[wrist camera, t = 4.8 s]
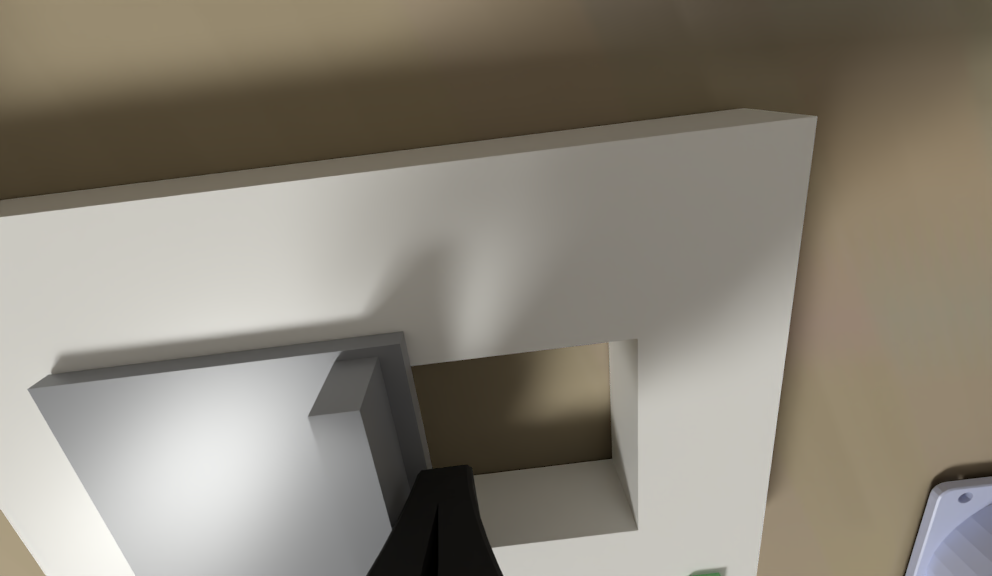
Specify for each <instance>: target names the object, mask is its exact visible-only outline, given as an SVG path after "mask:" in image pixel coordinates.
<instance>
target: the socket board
mask: <svg viewBox="0 0 992 576" xmlns="http://www.w3.org/2000/svg"><path fill="white" fill-rule="evenodd" d="M817 117H818V116H812V115H803V114H794V113H785V112H776V111H767V110H758V109H749V108H741V109H732V110H724V111H716V112H708V113H700V114H692V115H684V116H676V117H668V118H660V119H652V120H644V121H636V122H628V123H620V124H611V125H603V126H595V127H587V128H579V129H571V130H563V131H555V132H547V133H539V134H531V135H523V136H515V137H507V138H498V139H490V140H482V141H474V142H466V143H458V144H450V145H442V146H434V147H426V148H418V149H410V150H402V151H394V152H386V153H377V154H369V155H361V156H353V157H345V158H337V159H329V160H321V161H313V162H305V163H297V164H289V165H281V166H273V167H265V168H256V169H248V170H240V171H232V172H224V173H216V174H208V175H200V176H192V177H184V178H176V179H168V180H160V181H152V182H143V183H135V184H127V185H119V186H111V187H103V188H95V189H87V190H79V191H71V192H63V193H55V194H47V195H39V196H31V197H22V198H14V199H6V200H0V509H1V510H2V512H3V513H4V515H5V516H6V518H7V519H8V521H9V522H10V524H11V525H12V527H13V528H14V529H15V531H16V532H17V534H18V535H19V537H20V538H21V540H22V541H23V543H24V544H25V546H26V547H27V549H28V550H29V551H30V553H31V554H32V556H33V557H34V559H35V560H36V562H37V563H38V565H39V566H40V568H41V569H42V570H43V572H44V573H45V575H46V576H135V574H134V572H133V571H132V569H131V567H130V566H129V564H128V562H127V560H126V559H125V557H124V555H123V553H122V552H121V550H120V548H119V547H118V545H117V543H116V541H115V540H114V538H113V536H112V534H111V533H110V531H109V529H108V528H107V526H106V524H105V522H104V521H103V519H102V517H101V516H100V514H99V512H98V510H97V509H96V507H95V505H94V503H93V502H92V500H91V498H90V497H89V495H88V493H87V491H86V490H85V488H84V486H83V484H82V483H81V481H80V479H79V478H78V476H77V474H76V472H75V471H74V469H73V467H72V466H71V464H70V462H69V460H68V459H67V457H66V455H65V453H64V452H63V450H62V448H61V447H60V445H59V443H58V441H57V440H56V438H55V436H54V435H53V433H52V431H51V429H50V428H49V426H48V424H47V422H46V421H45V419H44V417H43V416H42V414H41V412H40V410H39V409H38V407H37V405H36V403H35V402H34V400H33V398H32V397H31V395H30V393H29V391H28V390H27V389H28V388H30V387H31V386H33V385H34V384H35V383H37V382H38V381H40V380H41V379H43V378H44V377H45V376H47V375H49V374H58V373H66V372H74V371H82V370H90V369H99V368H107V367H115V366H123V365H131V364H140V363H148V362H156V361H164V360H172V359H180V358H189V357H197V356H205V355H213V354H221V353H230V352H238V351H246V350H254V349H262V348H270V347H279V346H287V345H295V344H303V343H311V342H320V341H328V340H336V339H344V338H352V337H361V336H369V335H377V334H385V333H393V332H401V331H403V332H404V337H405V341H406V346H407V351H408V356H409V360H410V365H411V366H417V365H425V364H433V363H441V362H449V361H458V360H466V359H474V358H482V357H490V356H499V355H507V354H515V353H523V352H531V351H540V350H548V349H556V348H564V347H573V346H581V345H589V344H597V343H605V342H609V367H610V402H611V437H612V459H606V460H598V461H590V462H581V463H573V464H565V465H556V466H548V467H540V468H532V469H523V470H515V471H507V472H498V473H490V474H482V475H474V482H475V488H476V494H477V500H478V506H479V512H480V517H481V520H482V523H483V526H484V529H485V532H486V535H487V537H488V540H489V543H490V545H491V548H492V550H493V553H494V555H495V558H496V560H497V562H498V565H499V567H500V569H501V571H502V574H503V576H756V574H757V567H758V559H759V552H760V544H761V537H762V529H763V522H764V514H765V507H766V499H767V492H768V484H769V477H770V469H771V462H772V454H773V447H774V439H775V432H776V424H777V417H778V409H779V402H780V394H781V387H782V379H783V372H784V364H785V357H786V349H787V342H788V334H789V327H790V319H791V312H792V304H793V297H794V289H795V282H796V274H797V267H798V259H799V252H800V244H801V237H802V229H803V222H804V214H805V207H806V199H807V192H808V184H809V177H810V169H811V162H812V154H813V147H814V139H815V132H816V124H817Z"/></svg>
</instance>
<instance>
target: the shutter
mask: <svg viewBox="0 0 992 576" xmlns="http://www.w3.org/2000/svg"><path fill="white" fill-rule="evenodd" d="M27 390H28V391H29V393H30V395H31V397H32V398H33V400H34V402H35V403H36V405H37V407H38V409H39V410H40V412H41V414H42V416H43V417H44V419H45V421H46V422H47V424H48V426H49V428H50V429H51V431H52V433H53V435H54V436H55V438H56V440H57V441H58V443H59V445H60V447H61V448H62V450H63V452H64V453H65V455H66V457H67V459H68V460H69V462H70V464H71V466H72V467H73V469H74V471H75V472H76V474H77V476H78V478H79V479H80V481H81V483H82V484H83V486H84V488H85V490H86V491H87V493H88V495H89V497H90V498H91V500H92V502H93V503H94V505H95V507H96V509H97V510H98V512H99V514H100V516H101V517H102V519H103V521H104V522H105V524H106V526H107V528H108V529H109V531H110V533H111V534H112V536H113V538H114V540H115V541H116V543H117V545H118V547H119V548H120V550H121V552H122V553H123V555H124V557H125V559H126V560H127V562H128V564H129V566H130V567H131V569H132V571H133V572H134V574H135V576H366V575H367V573H368V572H369V570H370V568H371V567H372V565H373V563H374V562H375V560H376V558H377V557H378V555H379V553H380V551H381V550H382V548H383V546H384V544H385V542H386V540H387V539H388V537H389V535H390V533H391V531H392V529H393V527H394V525H395V523H396V521H397V519H398V517H399V515H400V513H401V511H402V509H403V507H404V505H405V503H406V501H407V498H408V496H409V494H410V492H411V489H412V487H413V485H414V482H415V480H416V477H417V475H418V473H419V472H420V471H421V470H427V469H433V468H432V464H431V459H430V454H429V450H428V445H427V440H426V435H425V431H424V426H423V421H422V417H421V412H420V407H419V403H418V398H417V393H416V388H415V384H414V379H413V374H412V370H411V365H410V360H409V356H408V351H407V346H406V341H405V337H404V332H403V331H401V332H393V333H385V334H377V335H369V336H361V337H352V338H344V339H336V340H328V341H320V342H311V343H303V344H295V345H287V346H279V347H270V348H262V349H254V350H246V351H238V352H230V353H221V354H213V355H205V356H197V357H189V358H180V359H172V360H164V361H156V362H148V363H140V364H131V365H123V366H115V367H107V368H99V369H90V370H82V371H74V372H66V373H58V374H49V375H47V376H45V377H44V378H43V379H41V380H40V381H38V382H37V383H35V384H34V385H33V386H31V387H30V388H28V389H27Z"/></svg>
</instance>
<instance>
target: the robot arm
mask: <svg viewBox="0 0 992 576" xmlns="http://www.w3.org/2000/svg"><path fill="white" fill-rule="evenodd" d="M366 576H503V574H502V571H501V569H500V567H499V565H498V562H497V560H496V558H495V555H494V553H493V550H492V548H491V545H490V543H489V540H488V537H487V535H486V532H485V529H484V526H483V523H482V520H481V517H480V512H479V506H478V500H477V494H476V488H475V482H474V476H473V471H472V468H471V467H470V466H468V465H460V466H452V467H444V468H435V469H427V470H421V471H420V472H419V473H418V475H417V477H416V480H415V482H414V485H413V487H412V489H411V492H410V494H409V496H408V498H407V501H406V503H405V505H404V507H403V509H402V511H401V513H400V515H399V517H398V519H397V521H396V523H395V525H394V527H393V529H392V531H391V533H390V535H389V537H388V539H387V540H386V542H385V544H384V546H383V548H382V550H381V551H380V553H379V555H378V557H377V558H376V560H375V562H374V563H373V565H372V567H371V568H370V570H369V572H368V573H367V575H366ZM905 576H992V476H990V477H982V478H974V479H965V480H957V481H949V482H943V483H940V484H938V485H936V486H935V487H934V488H933V489H932V491H931V492H930V495H929V499H928V502H927V505H926V509H925V512H924V515H923V518H922V522H921V525H920V528H919V532H918V535H917V538H916V541H915V545H914V548H913V551H912V555H911V558H910V561H909V564H908V568H907V571H906V574H905Z"/></svg>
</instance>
